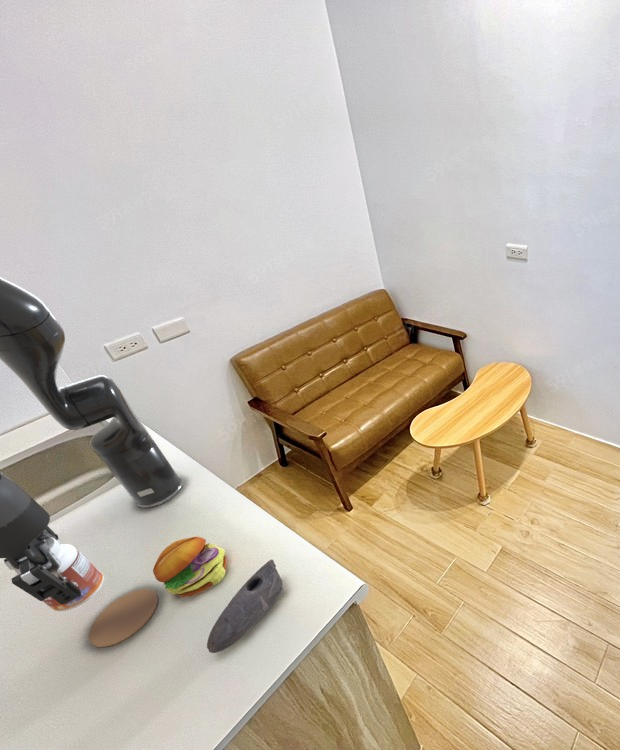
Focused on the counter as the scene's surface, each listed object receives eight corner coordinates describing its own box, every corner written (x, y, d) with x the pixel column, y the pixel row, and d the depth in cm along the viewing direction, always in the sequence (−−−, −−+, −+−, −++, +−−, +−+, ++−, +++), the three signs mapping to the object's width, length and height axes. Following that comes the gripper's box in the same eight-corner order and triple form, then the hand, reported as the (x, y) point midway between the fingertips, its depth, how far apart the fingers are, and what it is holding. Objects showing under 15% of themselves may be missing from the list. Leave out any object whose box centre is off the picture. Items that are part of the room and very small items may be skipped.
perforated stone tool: (226, 666, 65) (208, 647, 61) (206, 652, 67) (187, 632, 63) (297, 583, 76) (286, 563, 73) (278, 573, 78) (266, 553, 74)
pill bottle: (45, 620, 57) (-11, 580, 51) (63, 582, 62) (13, 542, 56) (98, 601, 59) (50, 561, 53) (111, 566, 64) (69, 525, 58)
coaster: (86, 619, 72) (85, 618, 72) (152, 579, 78) (151, 578, 78) (93, 661, 66) (92, 660, 66) (164, 614, 72) (163, 613, 72)
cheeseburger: (203, 606, 73) (167, 577, 68) (165, 603, 76) (128, 574, 71) (243, 556, 81) (213, 527, 76) (207, 555, 84) (176, 527, 79)
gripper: (32, 527, 48) (109, 596, 58) (26, 470, 56) (95, 538, 66) (-62, 571, 44) (39, 638, 53) (-53, 502, 52) (32, 570, 61)
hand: (69, 582), depth 59 cm, fingers closed on pill bottle, 6 cm apart
